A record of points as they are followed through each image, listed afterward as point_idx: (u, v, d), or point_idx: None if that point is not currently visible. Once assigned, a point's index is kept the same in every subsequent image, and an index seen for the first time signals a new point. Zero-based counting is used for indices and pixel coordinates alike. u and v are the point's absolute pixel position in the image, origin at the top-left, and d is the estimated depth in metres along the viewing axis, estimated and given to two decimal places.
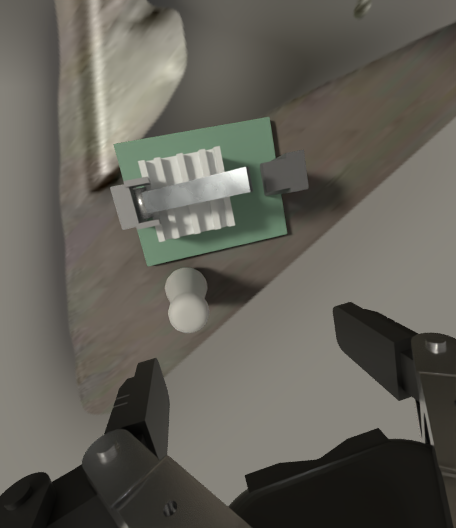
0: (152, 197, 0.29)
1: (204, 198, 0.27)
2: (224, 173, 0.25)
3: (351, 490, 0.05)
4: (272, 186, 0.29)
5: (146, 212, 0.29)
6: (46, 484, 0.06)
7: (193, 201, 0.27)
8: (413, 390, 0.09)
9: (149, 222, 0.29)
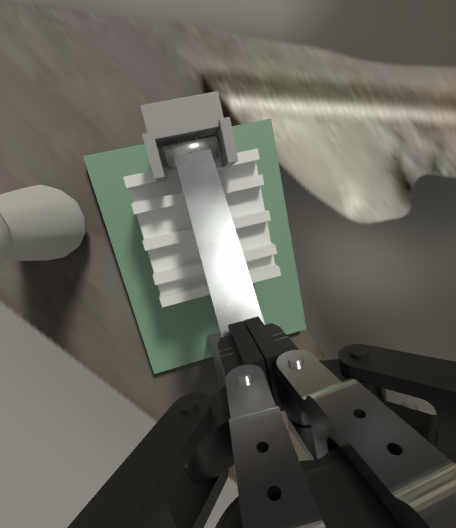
0: (204, 167, 0.16)
1: (208, 265, 0.14)
2: (255, 302, 0.14)
3: (351, 490, 0.05)
4: None
5: (175, 155, 0.16)
6: (206, 409, 0.08)
7: (201, 243, 0.15)
8: (283, 403, 0.09)
9: (157, 159, 0.16)
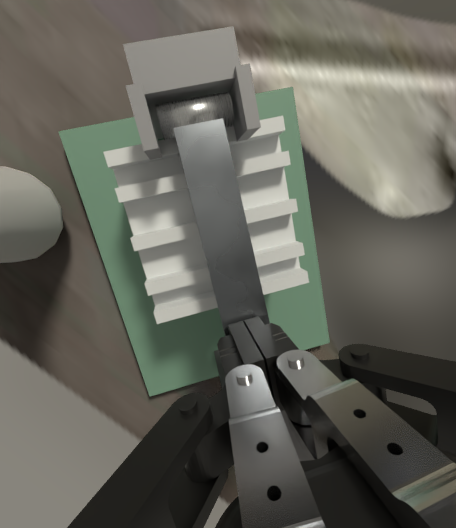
0: (214, 147, 0.12)
1: (218, 281, 0.13)
2: (267, 321, 0.13)
3: (351, 490, 0.05)
4: None
5: (175, 126, 0.12)
6: (206, 409, 0.08)
7: (210, 255, 0.13)
8: (283, 404, 0.09)
9: (148, 123, 0.11)
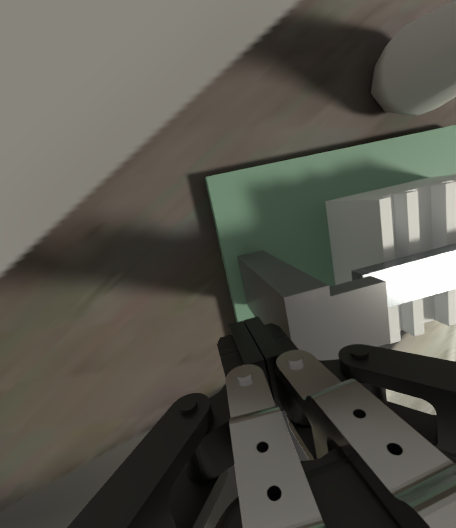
0: None
1: (441, 259, 0.15)
2: (401, 301, 0.15)
3: (351, 490, 0.05)
4: (373, 295, 0.12)
5: None
6: (206, 409, 0.08)
7: None
8: (283, 404, 0.09)
9: None
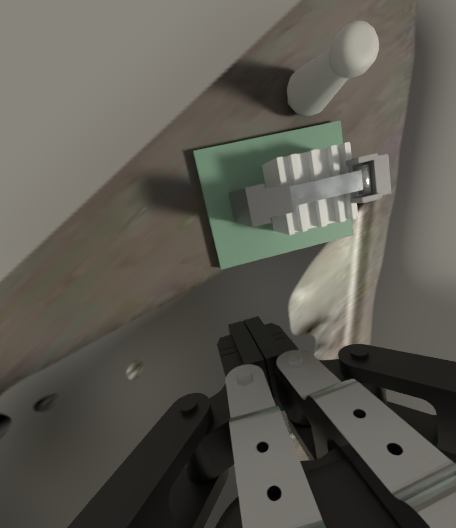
0: (353, 185, 0.32)
1: (305, 185, 0.31)
2: None
3: (351, 490, 0.05)
4: (283, 189, 0.28)
5: (361, 171, 0.32)
6: (206, 409, 0.08)
7: (315, 182, 0.31)
8: (283, 403, 0.09)
9: (366, 160, 0.31)
